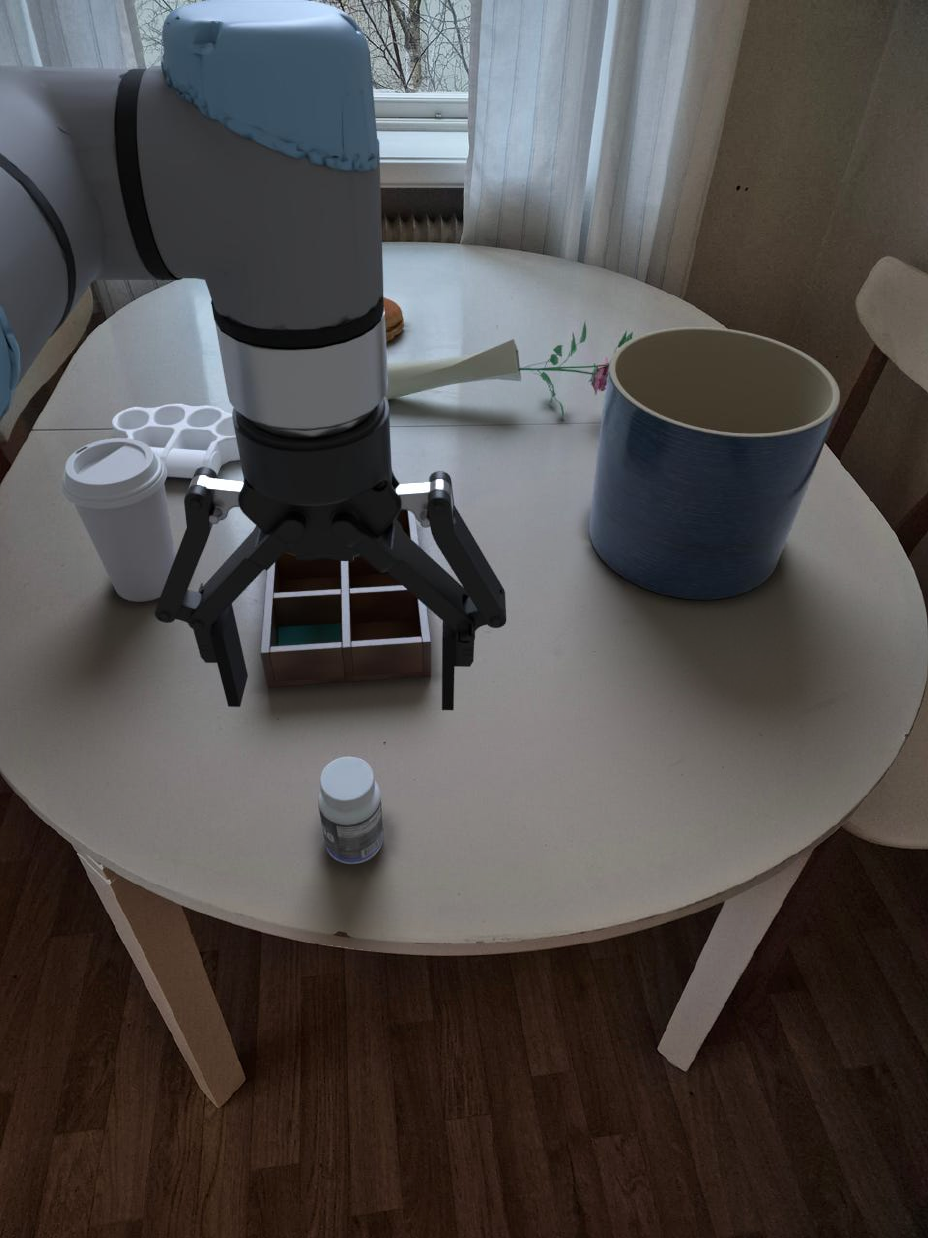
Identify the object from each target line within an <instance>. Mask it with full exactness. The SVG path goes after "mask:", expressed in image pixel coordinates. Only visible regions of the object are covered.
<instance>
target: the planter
mask: <svg viewBox="0 0 928 1238" xmlns="http://www.w3.org/2000/svg"><path fill="white" fill-rule="evenodd" d="M609 361H610V363H609V362H608V363H609V369H608V377H607V384H606V386H605V387H606V389H605V390H604V391H605V392H604V399H603V407H602V414H601V422H600V430H599V437H598V446H597V452H596V461H595V472H594V480H593V489H592V490H593V491H592V498H591V499H592V500H591V507H590V516H589V522H588V523H589V525H588V526H589V527H588V529H589V530H588V531H589V537H590V541H591V544H592V546H593V548H594V550H595V552H596V553H597V555H598V557H599V558H600V559H601V560H602V561H603V562H604V563H605V564H606V565H607V566H608V567H609V568H610V569H611V570H612V571H613V572H615V573H616V574H617V575H619V576H620V577H622V578H623V579H624V580H625V579H626V580H627V581H628V582H630V583H633V584H634V585H636V586H639V587H641V588H642V589H645V590H648V591H651V592H654V593H657V594H660V595H664V596H667V597H668V596H669V597H673V598H679V599H687V600H697V601H698V600H699V601H701V600H702V601H706V600H708V601H709V600H710V601H711V600H720V599H726V598H732V597H735V596H740V595H742V594H744V593H747V592H749V591H751V590H754V589H755V588H757V587H759V586H760V585H762V584H764V582H765V581H767V579H768V578H769V577H771V575H772V574H773V572H774V571H775V569H776V567H777V565H778V562H779V560H780V558H781V555H782V552H783V551H784V547H785V545H786V543H787V540H788V537H789V535H790V533H791V530H792V527H793V525H794V522H795V520H796V518H797V515H798V513H799V510H800V508H801V506H802V503H803V501H804V498H805V495H806V493H807V491H808V488H809V486H810V483H811V480H812V477H813V475H814V472H815V470H816V467H817V464H818V462H819V459H820V456H821V454H822V451H823V448H824V447H825V446H824V445H825V443H826V440H827V438H828V435H829V432H830V430H831V427H832V425H833V421H834V419H835V416H836V414H837V412H838V409H839V405H840V402H841V391H840V388H839V385H838V383H837V381H836V379H835V378H834V376H833V375H832V374H831V373H830V371H828V369H826V367H824V366H823V364H821V363H820V362H818V361H817V360H816V359H815V358H813V357H812V356H810V355H808V354H807V353H805V352H803V351H802V350H799V349H797V348H795V347H793V346H791V345H788V344H787V343H783V342H781V341H778V340H776V339H773V338H770V337H766V336H763V335H759V334H756V333H751V332H747V331H742V330H736V329H729V328H722V327H709V326H679V327H671V328H664V329H659V330H653V331H651V332H647V333H644V334H640V335H638V336H635V337H634V338H633V337H632V339H631V340H629V341H628V342H626V343H624V344H623V345H622V346H621V347H617V349H616V350H615V353H614V352H613V354H612V356H611V358H610V360H609Z"/></svg>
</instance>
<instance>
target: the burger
mask: <svg viewBox="0 0 928 1238" xmlns="http://www.w3.org/2000/svg"><path fill="white" fill-rule="evenodd" d="M383 298H384V312H385V329H386V343H388V342H389V341H392V340H393V339H394V338H395V336H398V335H399V334H400V333H402V331H403V329H404V328H405V322H404V319H405V318H404V315H403V311H402V308H401V306H400V305H399V304H398V303H397V302H395V301H394V300H392V299H390V298H387V297H384V296H383Z"/></svg>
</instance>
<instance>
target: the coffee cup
mask: <svg viewBox="0 0 928 1238" xmlns="http://www.w3.org/2000/svg"><path fill="white" fill-rule="evenodd" d="M167 478H168V477H167V469H166V466H165V464H164V463H163V461H162V460H161V458H160V457H159V456H158V455H157V454H156V453H155V452H153V451H152V449H151V448H150V447H149V446H148V445H147V444H145V443H143V442H141V441H138V440H134V439H128V438H116V437H115V438H114V437H113V438H112V437H111V438H106V439H101V440H100V439H99V440H97V441H94V442H90V443H88V444H86V445H84V446H81V447H80V448H78V449H77V450H75V451H74V452H72V454H71V455H70V456H69V457H68V458H67V460H66V462H65V465H64V471H63V473H62V478H61V490H62V494H63V495H64V497H65V498H66V499H67V500H68V501H69V502H71V503H72V504H73V506H74V507H75V509H76V511H77V513H78V515H79V517H80V519H81V521H82V524H83V526H84V527H85V529H86V532H87V533H88V536H89V538H90V540H91V542H92V544H93V547H94V548H95V551H96V552H97V555H98V557H99V558H100V561H101V563H102V565H103V567H104V570H105V571H106V574H107V575H108V578H109V580H110V582H111V584H112V586H113V588H114V590H115V592H116V594H117V595H118V596H119V597H121V598H122V599H123V600H126V601H129V602H136V603H141V602H150V601H155V600H158V599H160V596H161V594H162V591H163V588H164V586H165V583H166V581H167V578H168V575H169V573H170V570H171V568H172V565H173V562H174V560H175V557H176V551H175V545H174V538H173V533H172V532H173V531H172V525H171V519H170V514H169V507H168V500H167V494H166V493H167V492H166V486H165V482H166V479H167Z"/></svg>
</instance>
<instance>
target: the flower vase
mask: <svg viewBox="0 0 928 1238" xmlns="http://www.w3.org/2000/svg"><path fill="white" fill-rule="evenodd" d="M627 332H628V330H627V329H625V331H624V333H623V335H622V337H621V339H620V340H619V342H618V344H617V347H615V348H614V351H613V354H614V353H615V352H616V350H617V349H618V348H619V347H621V346H622V345H623V344H624V343H626V342H628V341H629V340H631V339H633V335H634V331H631V332H630V333H629V334H628V333H627ZM627 334H628V335H627ZM586 338H587V325H586V321H584V323H583V327H582V330H581V336H580V339H579V342H578V343H577V344H576V337H575V334H574V332H572V340H571V344H570V351H569V353H568V356H567V358H565V360H564V361H563V362H562V363H561V364H560V365H559V366H557V365H558V364H559V357H561V358H562V357H563V352H562V351H563V344H559V345H556V346H555V347H554V348H553V349H552V351H553V352H554V353H555V354H554V353H553V354H551V355H550V357H549V359H548V360H547V361H543V362H539V363H534V364H530V365H527V366H524V367H521V366H520V365H521V364H520V356H519V348H518V346H517V344H516V341H515V339H514V338H513V339H510V340H508V341H506V342H503V343H501V344H498V345H497V346H494V347H492V348H488V349H485V350H483V351H479V352H475V353H474V352H473V353H470V354H465V355H459V356H453V357H449V358H441V359H433V360H431V359H430V360H418V361H417V360H414V361H403V362H391V363H387V372H388V387H387V394H386V395H385V397H386V398H387V400H388V401H389V400H393V399H396V398H401V397H405V396H408V395H414V394H417V393H421V392H425V391H429V390H432V389H436V388H441V387H447V386H451V385H459V384H466V383H472V382H473V383H474V382H480V381H492V380H493V381H494V380H497V381H499V380H500V381H514V382H522V375H521V371H537V372H538V373H535V372H534V375H538V376H540V378H541V379H542V381H545V382H546V384H547V386H548V388H549V391H550V394H551V396H550V399H549V402H548V404H552V402H553V399H554V400H555V401H556V402H558V404H559V406H560V410H561V415H562V421H565V419H564V417H565V412H564V406H563V404H562V402H560V401H559V400H557V398H556V397H555V396H556V392H555V385H554V384H553V383H552V380H551V378H550V377H549V375H548V374H547V373H546V372H545V371H548V372H549V371H551V372H552V371H553V372H569V373H579V374H584V375H591V377H590V378H589V380H588V381H587V382H588V383H590V385H591V387H592V388H593V391H594V396H596V395H597V394H598V392H604V391H606V384H607V377H608V369H609V363H610V360H608V357H605V359H604V360H603V361H601V362H600V363H598V364H596V363H595V362H594V363H593V364H592V365H572V366H570V365H568V366H562V365H563V364H565V363H566V362H567V361H568V360H569V358H570V357H572V356H573V355H574V354H575V353H576V352H577V350H578V349H577V348H578V347H577V345H579V344H582V343H584V342H585V341H586ZM558 356H559V357H558ZM549 362H550V363H551V364H552V365H553V366H549V367H547V364H548V363H549ZM540 364H545V365H544V367H531V366H535V365H540ZM591 368H593V371H587V370H586V371H585V370H580V369H591ZM540 371H542V372H540Z"/></svg>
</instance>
